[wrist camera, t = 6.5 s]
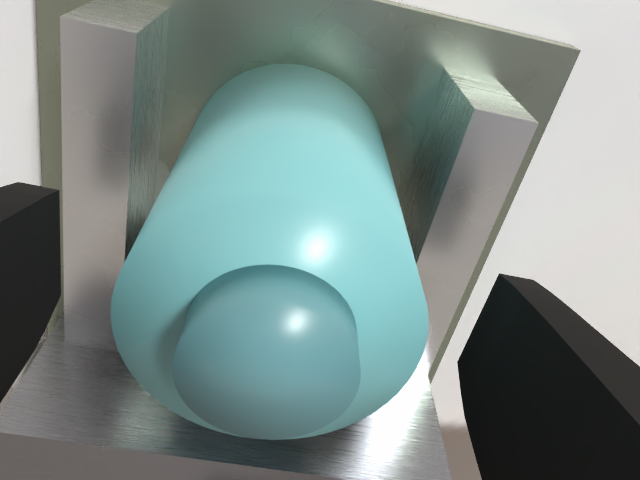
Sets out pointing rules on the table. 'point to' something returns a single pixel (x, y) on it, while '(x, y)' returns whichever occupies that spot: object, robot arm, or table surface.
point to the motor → (159, 158)
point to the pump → (274, 266)
